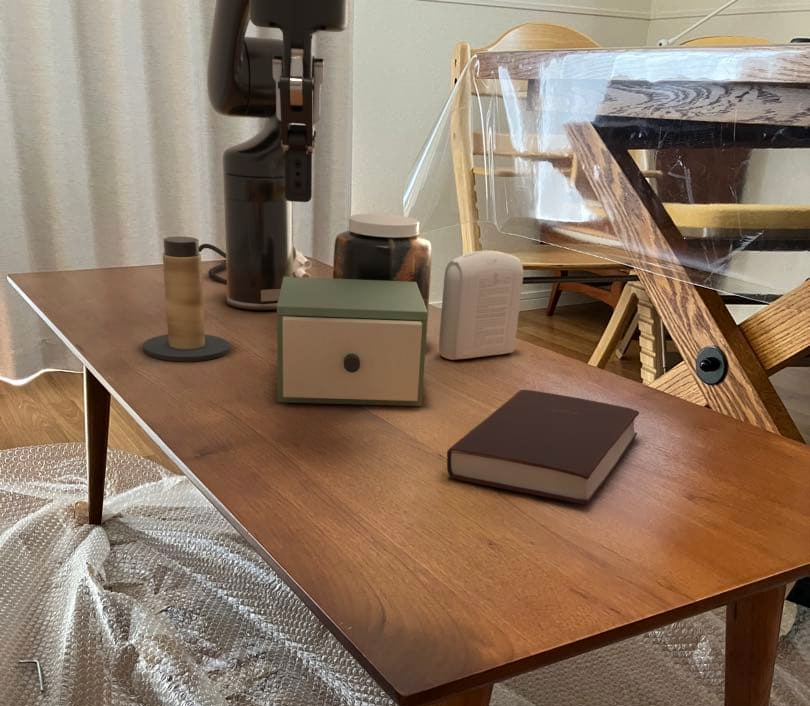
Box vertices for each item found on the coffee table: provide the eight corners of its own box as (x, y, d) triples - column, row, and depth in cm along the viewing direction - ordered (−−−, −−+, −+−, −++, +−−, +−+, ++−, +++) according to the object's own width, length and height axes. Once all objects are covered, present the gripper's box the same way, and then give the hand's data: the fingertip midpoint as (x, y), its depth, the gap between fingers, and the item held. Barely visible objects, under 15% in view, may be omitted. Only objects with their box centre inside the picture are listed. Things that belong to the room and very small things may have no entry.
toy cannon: (278, 276, 155) (300, 253, 154) (297, 295, 143) (321, 271, 143) (244, 241, 150) (267, 218, 150) (261, 258, 139) (285, 233, 138)
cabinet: (421, 406, 95) (427, 311, 90) (277, 402, 93) (276, 306, 89) (411, 366, 107) (416, 281, 102) (284, 362, 105) (283, 276, 101)
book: (443, 478, 78) (446, 442, 77) (516, 413, 94) (520, 383, 93) (585, 512, 74) (591, 475, 72) (637, 438, 90) (643, 406, 88)
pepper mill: (171, 339, 109) (164, 235, 104) (207, 340, 110) (202, 236, 104) (166, 349, 106) (158, 241, 100) (202, 350, 106) (197, 243, 100)
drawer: (418, 405, 92) (423, 327, 88) (282, 401, 91) (281, 322, 87) (408, 364, 104) (412, 295, 101) (288, 360, 103) (287, 290, 99)
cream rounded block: (498, 345, 117) (508, 245, 111) (519, 354, 114) (531, 252, 108) (432, 354, 112) (439, 250, 106) (453, 363, 109) (461, 257, 103)
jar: (332, 356, 109) (335, 224, 102) (330, 330, 119) (332, 209, 112) (430, 359, 110) (440, 229, 103) (420, 333, 120) (428, 213, 113)
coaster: (151, 336, 112) (150, 331, 112) (233, 339, 113) (233, 334, 113) (135, 360, 103) (135, 355, 103) (225, 363, 104) (225, 358, 104)
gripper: (350, -48, 63) (344, 214, 71) (347, -32, 75) (342, 192, 83) (240, -56, 63) (246, 210, 71) (255, -39, 74) (259, 188, 82)
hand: (298, 200), depth 77 cm, fingers closed
